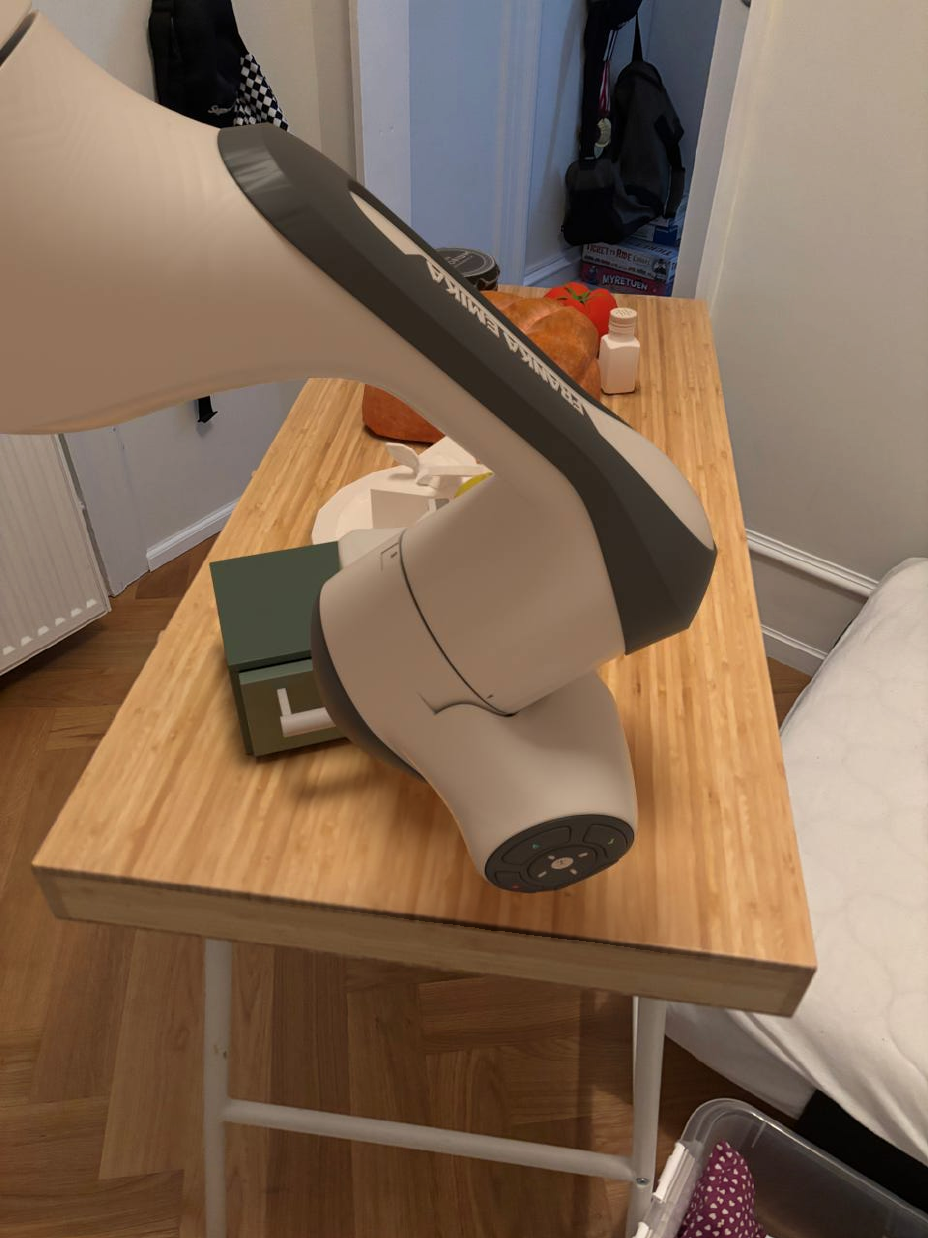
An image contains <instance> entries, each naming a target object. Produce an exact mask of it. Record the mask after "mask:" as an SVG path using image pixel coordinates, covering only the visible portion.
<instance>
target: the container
mask: <svg viewBox="0 0 928 1238" xmlns="http://www.w3.org/2000/svg"><path fill="white" fill-rule="evenodd" d="M433 248H434V249H435V250H436V251H437V252H438V253H439V254H440V255H441V256H442V257H443V258H445V259H446V260H447V261H448V262H449V263H450V264H451V265H452V266H453V267H454V268H455V269H456V270H458V271H459V272H460V273H461V274H462V275H463V276H464V277H465V278H466V279H467V280H468V281H469V282H470V283H471V284H472V285H473V286H474V287H476V288H477V289H478V290H479V291H498V290H499V282H498V280H499V277H500V275H501V270H502V269H501V268H500V266H499V265H498V263H497V262H496V259H495V257H493V256H492V255H491V254H489V253H487V252H486V251H483V250H480V249H476V248H471V247H464V246H441V247H438V246H437V247H433ZM498 292H499V291H498Z"/></svg>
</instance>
